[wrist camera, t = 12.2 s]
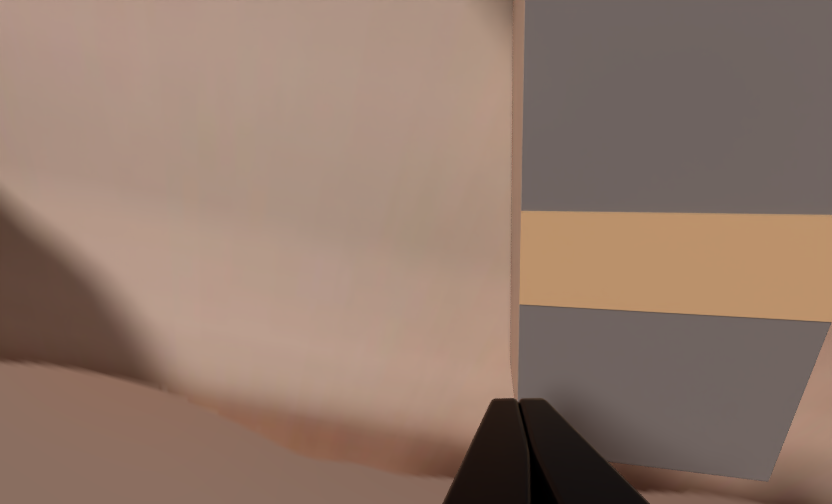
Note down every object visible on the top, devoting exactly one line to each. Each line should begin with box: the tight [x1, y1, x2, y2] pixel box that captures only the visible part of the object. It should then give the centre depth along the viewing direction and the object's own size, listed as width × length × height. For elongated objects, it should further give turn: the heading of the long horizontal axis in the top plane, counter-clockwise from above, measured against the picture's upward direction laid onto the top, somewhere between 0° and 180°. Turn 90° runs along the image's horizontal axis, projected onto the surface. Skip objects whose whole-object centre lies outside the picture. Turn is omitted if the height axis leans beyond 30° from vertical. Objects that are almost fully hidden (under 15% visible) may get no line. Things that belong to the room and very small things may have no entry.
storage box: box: [510, 0, 525, 401], centre depth 16 cm, size 8×16×4 cm, turn 5°
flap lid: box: [518, 0, 832, 482], centre depth 13 cm, size 8×16×1 cm, turn 5°
